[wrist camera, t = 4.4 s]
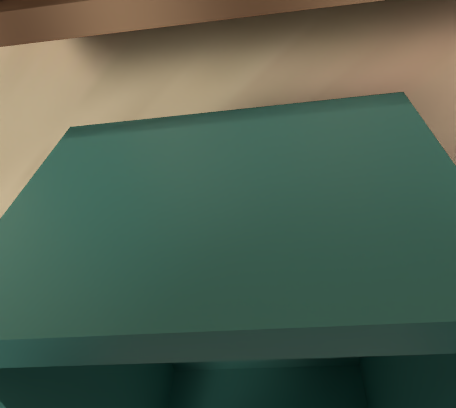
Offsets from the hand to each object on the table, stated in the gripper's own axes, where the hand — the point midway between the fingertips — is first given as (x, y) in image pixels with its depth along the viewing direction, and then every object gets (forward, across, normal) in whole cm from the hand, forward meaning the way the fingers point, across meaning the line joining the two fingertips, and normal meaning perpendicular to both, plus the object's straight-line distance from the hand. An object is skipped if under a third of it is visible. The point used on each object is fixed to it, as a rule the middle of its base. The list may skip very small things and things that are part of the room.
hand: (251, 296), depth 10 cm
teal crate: (+1, 0, 0) cm, 1 cm away
